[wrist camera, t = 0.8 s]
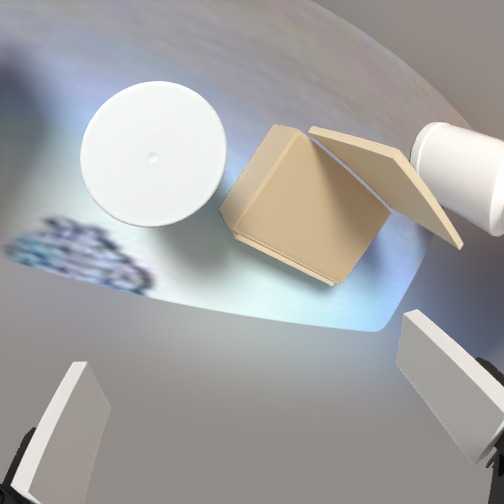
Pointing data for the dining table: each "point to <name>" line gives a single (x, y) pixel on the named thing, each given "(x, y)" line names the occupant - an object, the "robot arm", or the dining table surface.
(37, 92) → the dining table surface
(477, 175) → the bottle
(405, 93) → the dining table surface
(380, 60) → the dining table surface
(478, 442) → the robot arm
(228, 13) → the dining table surface
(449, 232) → the flap
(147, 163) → the supplement tub
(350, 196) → the carton
